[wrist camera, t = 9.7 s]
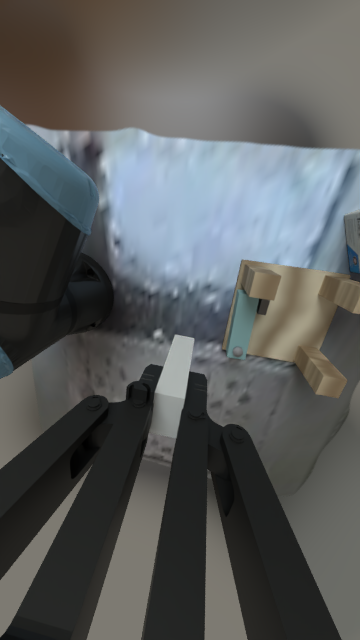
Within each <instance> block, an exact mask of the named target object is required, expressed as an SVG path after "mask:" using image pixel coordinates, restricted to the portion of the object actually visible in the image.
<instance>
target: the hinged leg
mask: <svg viewBox="0 0 360 640" xmlns="http://www.w3.org/2000/svg"><path fill="white" fill-rule="evenodd" d="M258 302H259V298H254V297H249V296H248V294H247V292H246V291H245V290H240V289H237V293H236V298H235V304H234V309H233V314H232V319H231V325H230V330H229V335H228V340H227V346H226V354H227V357H229V358H236V359H242V360H245V358H246V353H247V349H248V345H249V341H250V336H251V332H252V328H253V323H254V319H255V315H256V311H257V306H258Z"/></svg>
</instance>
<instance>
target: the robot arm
mask: <svg viewBox="0 0 360 640" xmlns="http://www.w3.org/2000/svg"><path fill="white" fill-rule="evenodd" d="M98 203H99V193H98V190H97V187H96V185H95V183H94V182H93V180H92V179H91V178H90V177H89V176H88V175H87V174H86V173H85V172H83V171H82V170H81V169H80V168H79V167H78V166H76V165H75V164H74V163H73V162H71V161H70V160H69V159H68V158H66V157H65V156H64V155H63V154H61V153H60V152H59V151H58V150H56V149H55V148H54V147H53V146H51V145H50V144H49V143H48V142H46V141H45V140H44V139H43V138H41V137H40V136H39V135H37V134H36V133H35V132H34V131H32V130H31V129H30V128H29V127H27V126H26V125H25V124H23V123H22V122H21V121H20V120H18V119H17V118H16V117H14V116H13V115H12V114H11V113H9V112H8V111H7V110H5V109H4V108H3V107H1V106H0V379H1V378H3V377H5V376H8V375H10V374H11V373H13V371H14V370H15V369H17V368H18V367H20V366H21V365H23V364H24V363H26V362H27V361H29V360H30V359H32V358H33V357H35V356H36V355H38V354H39V353H41V352H42V351H44V350H45V349H47V348H48V347H50V346H51V345H53V344H54V343H56V342H57V341H59V340H60V339H61V338H63V337H64V336H66V335H71V334H77V333H82V332H87V331H90V330H92V329H94V328H96V327H97V326H98V325H100V324H101V323H102V322H104V321H105V320H106V318H107V317H108V316H109V314H110V312H111V309H112V306H113V290H112V286H111V283H110V280H109V278H108V276H107V274H106V273H105V271H104V270H103V269H102V267H101V266H100V265H99V264H98V263H97V262H96V261H95V260H93V259H92V258H91V257H89V256H87V255H85V254H83V253H81V251H82V249H83V246H84V244H85V242H86V239H87V237H88V235H90V234H91V225H92V222H93V218H94V215H95V212H96V209H97V206H98ZM193 344H194V338H190V337H185V336H180V335H175V337H174V340H173V342H172V345H171V348H170V351H169V354H168V356H167V359H166V362H165V365H164V367H163V366H158V365H153V364H150V365H149V366H147V367H146V368H145V370H144V372H143V374H142V376H141V378H140V380H139V381H135V382H132V383H130V384H129V385H128V386H127V391H126V400H125V401H122V402H115V403H108V400H107V399H106V398H105V397H104V396H100V395H93V396H89V397H87V398H85V399H84V400H82V401H81V402H80V403H79V404H77V405H76V406H75V407H74V408H73V409H72V410H70V411H69V412H68V413H67V414H66V415H64V416H63V417H62V418H61V419H60V420H58V421H57V422H56V423H55V424H54V425H52V426H51V427H50V428H49V429H48V430H47V431H45V432H44V433H43V434H42V435H41V436H39V437H38V438H37V439H36V440H35V441H33V442H32V443H31V444H30V445H29V446H28V447H26V448H25V449H24V450H23V451H22V452H20V454H18V455H17V456H16V457H14V458H13V459H12V460H11V461H10V462H9V463H7V464H6V465H5V466H4V467H3V468H1V469H0V580H1V578H2V577H3V576H4V575H5V573H6V572H7V571H8V570H9V569H10V567H11V566H12V565H13V563H14V562H15V561H16V559H17V558H18V557H19V556H20V555H21V553H22V552H23V551H24V550H25V548H26V547H27V546H28V545H29V543H30V542H31V541H32V540H33V538H34V537H35V536H36V535H37V533H38V532H39V531H40V529H41V528H42V527H43V526H44V525H45V523H46V522H47V521H48V520H49V518H50V517H51V516H52V514H53V513H54V512H55V511H56V509H57V508H58V507H59V506H60V504H61V503H62V502H63V501H64V499H65V498H66V497H67V496H68V494H69V493H70V492H71V491H72V489H73V488H74V487H75V486H76V484H77V483H78V482H79V481H80V479H81V478H82V477H83V476H84V474H85V473H86V472H87V471H88V469H89V468H90V467H91V465H92V464H93V465H92V467H91V469H90V471H89V473H88V475H87V477H86V479H85V481H84V483H83V485H82V487H81V489H80V491H79V492H78V494H77V496H76V498H75V500H74V502H73V504H72V506H71V508H70V510H69V512H68V514H67V516H66V518H65V520H64V522H63V524H62V526H61V527H60V530H59V531H58V533H57V535H56V537H55V539H54V541H53V543H52V545H51V547H50V549H49V551H48V553H47V555H46V557H45V559H44V561H43V563H42V564H41V566H40V568H39V570H38V572H37V574H36V576H35V578H34V580H33V582H32V584H31V586H30V588H29V590H28V592H27V594H26V596H25V598H24V600H23V602H22V604H21V606H20V607H19V609H18V611H17V613H16V615H15V617H14V619H13V621H12V623H11V624H10V626H9V627H8V629H7V630H6V632H5V633H4V634H3V635H2V636H1V637H0V640H86V639H87V636H88V633H89V629H90V626H91V623H92V620H93V616H94V613H95V610H96V607H97V603H98V600H99V597H100V593H101V590H102V587H103V584H104V580H105V577H106V574H107V571H108V567H109V564H110V561H111V558H112V554H113V550H114V548H115V544H116V541H117V538H118V535H119V532H120V528H121V524H122V521H123V518H124V515H125V512H126V509H127V505H128V502H129V499H130V496H131V492H132V489H133V486H134V483H135V479H136V476H137V473H138V470H139V466H140V463H141V460H142V456H143V453H144V450H145V447H146V443H147V437H148V433H154V434H158V435H163V436H167V437H171V438H176V443H175V448H174V453H173V458H172V459H173V460H172V465H171V471H170V477H169V483H168V488H167V494H166V500H165V506H164V511H163V517H162V523H161V529H160V534H159V540H158V546H157V552H156V558H155V563H154V569H153V575H152V581H151V586H150V592H149V598H148V603H147V609H146V615H145V621H144V626H143V632H142V638H141V640H204V631H205V572H206V571H205V570H206V514H207V469H208V470H209V471H211V476H212V481H213V485H214V490H215V494H216V499H217V503H218V508H219V512H220V517H221V521H222V526H223V530H224V534H225V539H226V544H227V548H228V553H229V557H230V562H231V567H232V570H233V575H234V580H235V584H236V589H237V593H238V598H239V603H240V607H241V612H242V616H243V620H244V625H245V630H246V634H247V639H248V640H341V637H340V635H339V633H338V631H337V628H336V626H335V624H334V622H333V620H332V617H331V615H330V613H329V611H328V608H327V606H326V604H325V602H324V600H323V597H322V595H321V593H320V591H319V588H318V586H317V584H316V582H315V580H314V577H313V575H312V573H311V571H310V568H309V566H308V564H307V562H306V559H305V557H304V555H303V553H302V550H301V548H300V546H299V544H298V542H297V540H296V537H295V535H294V533H293V530H292V528H291V526H290V524H289V522H288V519H287V517H286V515H285V513H284V510H283V508H282V506H281V504H280V502H279V499H278V497H277V495H276V493H275V490H274V488H273V486H272V484H271V481H270V479H269V477H268V475H267V473H266V470H265V468H264V466H263V464H262V461H261V459H260V457H259V455H258V453H257V450H256V448H255V446H254V444H253V441H252V439H251V437H250V435H249V434H248V432H247V431H246V430H245V429H244V428H243V427H241V426H239V425H235V424H228V425H226V426H225V427H222V426H220V425H218V424H217V423H215V422H214V421H212V420H211V419H210V417H209V416H208V414H207V410H206V408H207V379H206V377H205V375H204V374H200V373H195V372H190V371H189V370H190V363H191V357H192V351H193ZM149 430H150V432H149Z"/></svg>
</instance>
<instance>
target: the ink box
mask: <svg viewBox="0 0 360 640" xmlns="http://www.w3.org/2000/svg"><path fill="white" fill-rule="evenodd" d="M344 220H345V230H346V238H347V247H348V256H349V265H350V272H354V273H358V274H360V209H359V210H357V211H354V212H351V213H348V214H346V215H344Z"/></svg>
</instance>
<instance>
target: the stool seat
mask: <svg viewBox="0 0 360 640" xmlns="http://www.w3.org/2000/svg"><path fill="white" fill-rule="evenodd" d="M350 277H351V275H348V274H341V273H334V272H327V271H320V270H313V269H306V268H299V267H292V266H284V265H277V264H270V263H263V262H256V261H249V260H242V261H241V265H240V270H239V274H238V279H237V283H236V287H235V292H234V296H233V301H232V305H231V310H230V314H229V318H228V323H227V327H226V332H225V336H224V341H223V345H222V349H224V350H226V346H227V340H228V335H229V330H230V325H231V319H232V314H233V309H234V304H235V298H236V293H237V289H240V290H245V291H246V292H247V294H248V296H249V297H254V298H259V302H258V306H257V311H256V315H255V319H254V323H253V328H252V332H251V336H250V341H249V345H248V349H247V353H246V354H251V355H257V356H262V357H268V358H273V359H279V360H284V361H290V362H295V363H296V365H297V366H298V368H299V369H300V371H301V372H302V374H303V375H304V377H305V378H306V380H307V381H308V383H309V384H310V386H311V388H312V389H313V391H314V392H315V394H319V395H324V396H330V397H335V398H339V396H340V394H341V392H342V390H343V388H344V386H345V384H346V382H347V379H346V378H345V377H344V376H343V375H342V374H341V373H340V372H339V371H338V370H337V369H336V368H335V367H334V366H333V364H332V363H331V362H330V361H329V360H328V359H327V358H326V357H325V356H324V355H323V354H322V353H321V352H320V351H319V350H320V347H321V345H322V343H323V340H324V338H325V336H326V333H327V331H328V328H329V326H330V324H331V321H332V319H333V317H334V314H335V312H336V310H337V307H338V305H339V306H340V307H342V308H344V309H346V310H348V311H350V312H352V313H356V314H360V282H357V281H354V280H350Z"/></svg>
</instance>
